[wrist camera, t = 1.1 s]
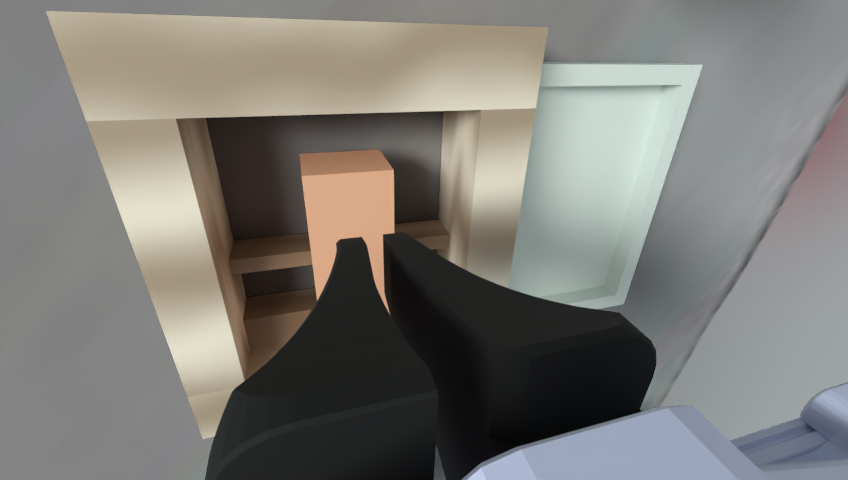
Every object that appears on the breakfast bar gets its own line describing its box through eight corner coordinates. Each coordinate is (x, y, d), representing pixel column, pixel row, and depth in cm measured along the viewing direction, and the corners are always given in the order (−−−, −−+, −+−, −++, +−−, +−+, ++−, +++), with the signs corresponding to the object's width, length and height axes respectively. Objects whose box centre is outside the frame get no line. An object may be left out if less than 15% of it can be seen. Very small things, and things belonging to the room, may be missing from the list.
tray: (607, 290, 30) (623, 304, 29) (474, 313, 27) (485, 330, 26) (675, 62, 23) (702, 64, 21) (502, 60, 20) (519, 64, 18)
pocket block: (466, 326, 28) (494, 373, 24) (216, 372, 24) (202, 438, 20) (496, 26, 19) (548, 27, 15) (107, 13, 15) (45, 11, 11)
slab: (383, 321, 23) (395, 357, 20) (321, 331, 22) (325, 371, 19) (379, 149, 18) (394, 169, 16) (299, 153, 17) (301, 176, 15)
